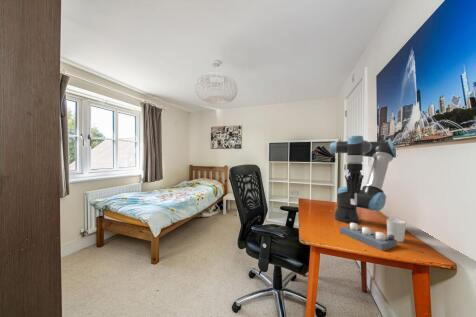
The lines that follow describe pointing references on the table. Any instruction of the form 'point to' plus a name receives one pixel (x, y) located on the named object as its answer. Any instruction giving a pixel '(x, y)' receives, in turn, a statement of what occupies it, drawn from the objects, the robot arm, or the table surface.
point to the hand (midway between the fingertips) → (353, 204)
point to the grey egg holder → (370, 238)
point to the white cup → (396, 229)
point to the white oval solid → (366, 231)
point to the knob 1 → (354, 226)
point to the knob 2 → (380, 236)
